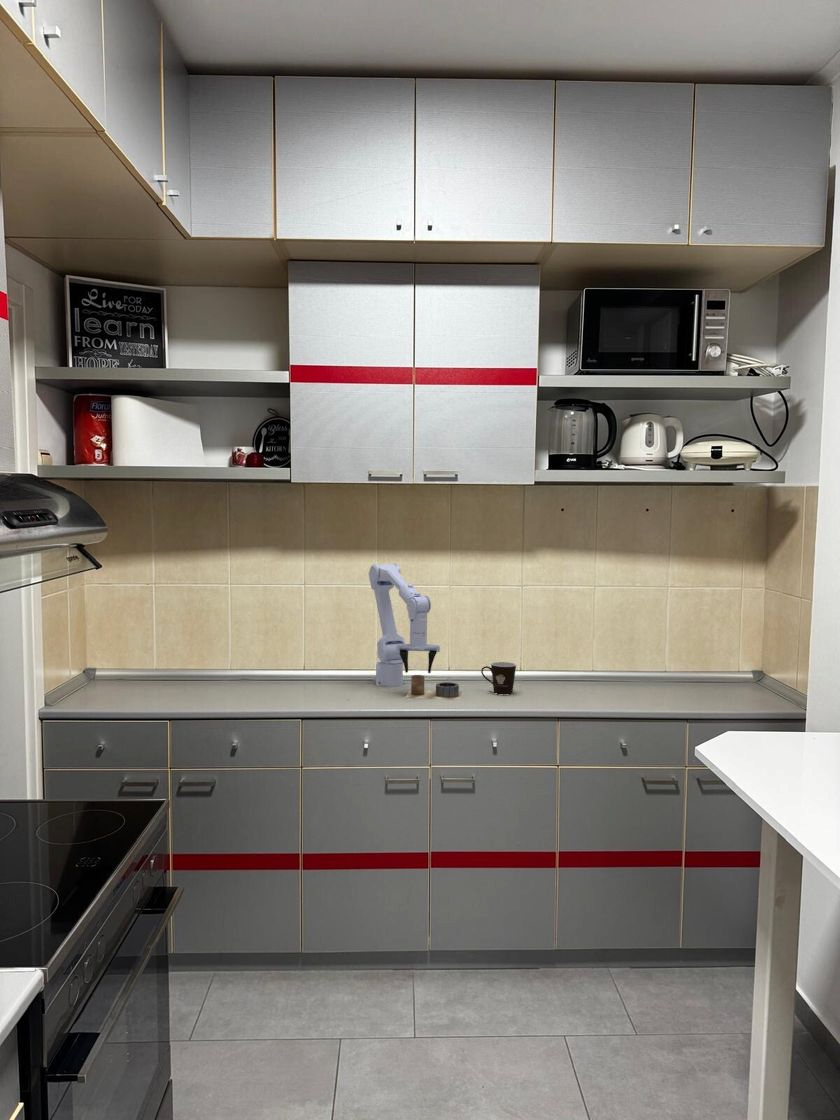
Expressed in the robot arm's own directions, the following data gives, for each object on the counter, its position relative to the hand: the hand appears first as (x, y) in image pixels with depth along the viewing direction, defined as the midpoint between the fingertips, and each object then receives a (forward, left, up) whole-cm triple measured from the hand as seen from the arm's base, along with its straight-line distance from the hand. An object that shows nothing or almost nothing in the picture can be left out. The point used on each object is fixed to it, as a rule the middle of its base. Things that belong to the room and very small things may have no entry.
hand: (418, 672), depth 273 cm
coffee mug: (+27, +12, -9) cm, 31 cm away
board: (+5, 0, -8) cm, 10 cm away
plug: (0, 0, -7) cm, 7 cm away
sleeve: (+10, 0, -8) cm, 13 cm away
